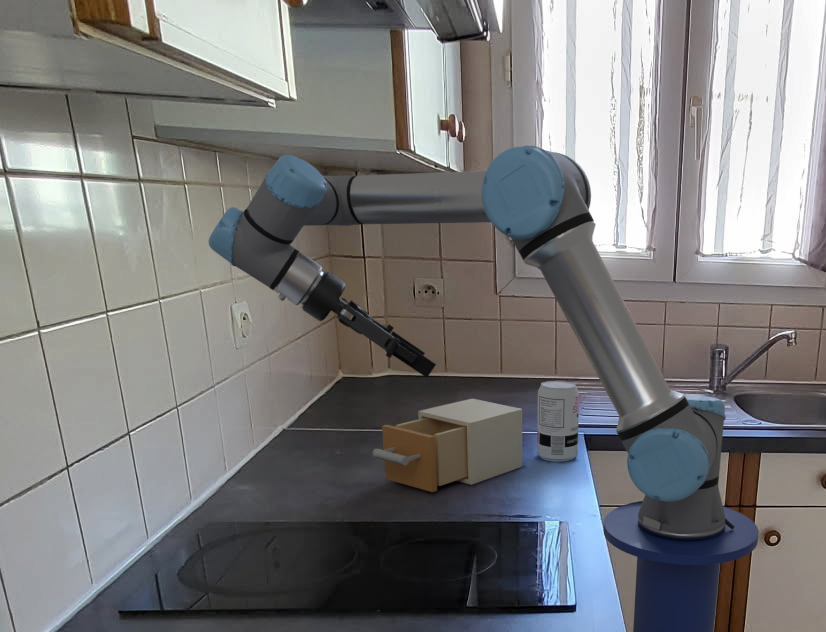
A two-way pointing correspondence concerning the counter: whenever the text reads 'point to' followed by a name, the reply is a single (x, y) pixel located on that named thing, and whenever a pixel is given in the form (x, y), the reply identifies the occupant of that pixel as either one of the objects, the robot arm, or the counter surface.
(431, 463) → the drawer
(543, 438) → the supplement can
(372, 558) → the counter surface
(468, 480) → the cabinet
